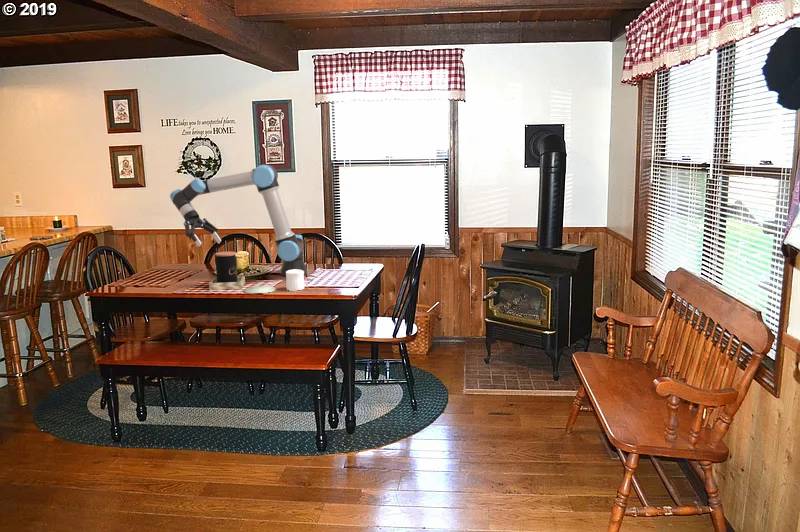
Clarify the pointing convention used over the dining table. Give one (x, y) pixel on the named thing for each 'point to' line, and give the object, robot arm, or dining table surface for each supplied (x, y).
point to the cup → (294, 280)
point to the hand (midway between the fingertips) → (210, 243)
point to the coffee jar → (226, 267)
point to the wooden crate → (227, 284)
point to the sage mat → (260, 289)
